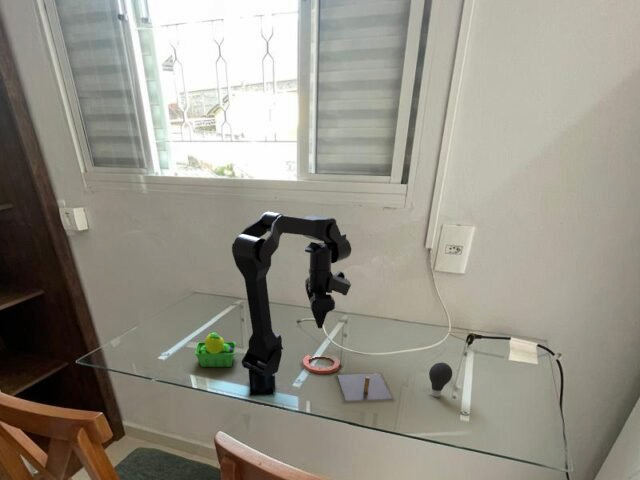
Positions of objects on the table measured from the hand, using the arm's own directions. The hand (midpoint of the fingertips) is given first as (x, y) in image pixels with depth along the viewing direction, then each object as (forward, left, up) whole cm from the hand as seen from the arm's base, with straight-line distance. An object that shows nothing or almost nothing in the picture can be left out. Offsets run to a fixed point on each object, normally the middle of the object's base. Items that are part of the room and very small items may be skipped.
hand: (318, 321), depth 121 cm
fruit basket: (-30, -2, -12) cm, 33 cm away
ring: (+1, -6, -12) cm, 13 cm away
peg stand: (+11, -19, -12) cm, 24 cm away
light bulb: (+29, -24, -12) cm, 39 cm away
